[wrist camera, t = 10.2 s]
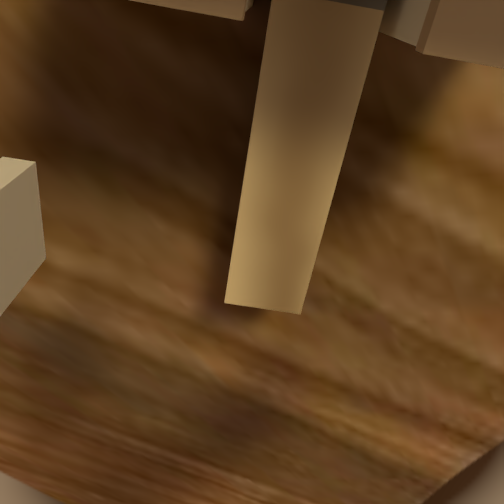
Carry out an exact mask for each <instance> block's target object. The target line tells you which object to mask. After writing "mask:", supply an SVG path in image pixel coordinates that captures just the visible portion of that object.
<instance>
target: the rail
mask: <svg viewBox="0 0 504 504" xmlns="http://www.w3.org/2000/svg"><path fill="white" fill-rule="evenodd" d="M386 3H387V0H271V6H270V12H269V19H268V25H267V31H266V38H265V44H264V50H263V57H262V63H261V69H260V76H259V82H258V89H257V95H256V101H255V108H254V114H253V120H252V127H251V133H250V140H249V146H248V152H247V159H246V165H245V171H244V178H243V184H242V190H241V197H240V203H239V210H238V216H237V222H236V229H235V235H234V241H233V248H232V255H231V261H230V268H229V274H228V281H227V288H226V294H225V301H224V303H228V304H235V305H241V306H248V307H255V308H262V309H268V310H275V311H282V312H288V313H295V314H301V310H302V306H303V303H304V299H305V296H306V292H307V288H308V285H309V281H310V278H311V274H312V270H313V267H314V263H315V259H316V256H317V252H318V249H319V245H320V241H321V238H322V234H323V231H324V227H325V223H326V220H327V216H328V213H329V209H330V205H331V202H332V198H333V194H334V191H335V187H336V184H337V180H338V176H339V173H340V169H341V166H342V162H343V158H344V155H345V151H346V147H347V144H348V140H349V137H350V133H351V129H352V126H353V122H354V119H355V115H356V111H357V108H358V104H359V101H360V97H361V93H362V90H363V86H364V82H365V79H366V75H367V72H368V68H369V64H370V61H371V57H372V54H373V50H374V46H375V43H376V39H377V35H378V32H379V28H380V25H381V21H382V17H383V14H384V10H385V7H386Z"/></svg>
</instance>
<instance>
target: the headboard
mask: <svg viewBox="0 0 504 504" xmlns="http://www.w3.org/2000/svg"><path fill="white" fill-rule="evenodd" d="M130 1H136V2H141V3H147V4H152V5H158V6H163V7H169V8H174V9H180V10H185V11H191V12H196V13H201V14H207V15H212V16H218V17H223V18H229V19H234V20H240V21H243V20H244V16H245V12H246V11H247V10H248V9H249V8H250V7H252V6H253V0H130ZM379 32H381V33H383V34H386V35H388V36H391V37H393V38H396V39H398V40H401V41H404V42H406V43H409V44H411V45H414V46H416V48H415V51H417V52H419V53H422V54H426V55H431V56H437V57H442V58H448V59H453V60H459V61H464V62H470V63H475V64H481V65H486V66H492V67H497V68H503V69H504V0H387V3H386V7H385V10H384V14H383V17H382V21H381V25H380V28H379Z"/></svg>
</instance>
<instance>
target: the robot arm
mask: <svg viewBox="0 0 504 504" xmlns="http://www.w3.org/2000/svg"><path fill="white" fill-rule="evenodd" d="M45 259H46V253H45V243H44V234H43V225H42V215H41V206H40V197H39V187H38V178H37V169H36V162H33V161H27V160H21V159H14V158H8V157H2V158H0V316H1V315H2V313H3V312H4V311H5V309H6V308H7V307H8V306H9V304H10V303H11V302H12V301H13V299H14V298H15V297H16V295H17V294H18V293H19V292H20V290H21V289H22V288H23V287H24V285H25V284H26V283H27V282H28V280H29V279H30V278H31V276H32V275H33V274H34V273H35V271H36V270H37V269H38V268H39V266H40V265H41V264H42V263H43V261H44V260H45Z"/></svg>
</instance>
